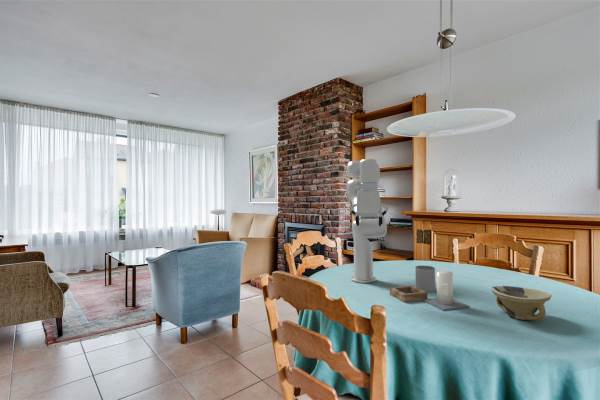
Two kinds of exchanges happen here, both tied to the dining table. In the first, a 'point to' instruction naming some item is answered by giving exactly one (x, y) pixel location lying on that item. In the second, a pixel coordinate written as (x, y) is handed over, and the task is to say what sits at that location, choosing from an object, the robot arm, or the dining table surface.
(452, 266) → the dining table surface
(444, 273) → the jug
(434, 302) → the coaster
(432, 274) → the cup
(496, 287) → the bowl
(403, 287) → the tray
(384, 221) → the robot arm
